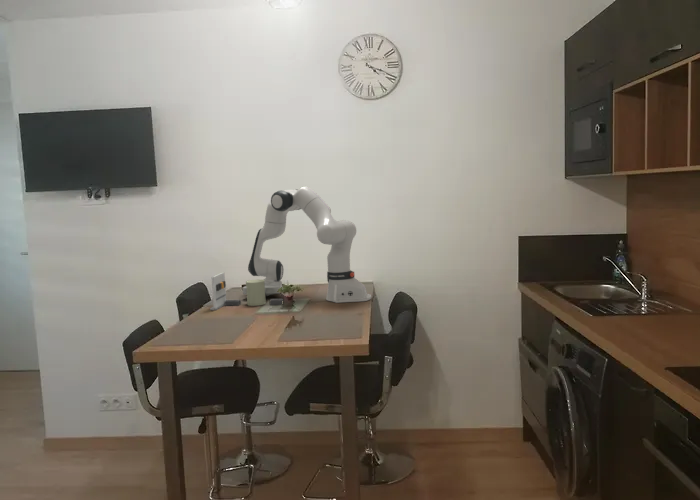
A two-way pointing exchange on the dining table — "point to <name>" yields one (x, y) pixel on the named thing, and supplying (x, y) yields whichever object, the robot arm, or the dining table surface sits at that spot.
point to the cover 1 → (232, 302)
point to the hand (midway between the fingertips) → (258, 292)
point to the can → (255, 292)
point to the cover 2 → (276, 301)
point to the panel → (218, 291)
